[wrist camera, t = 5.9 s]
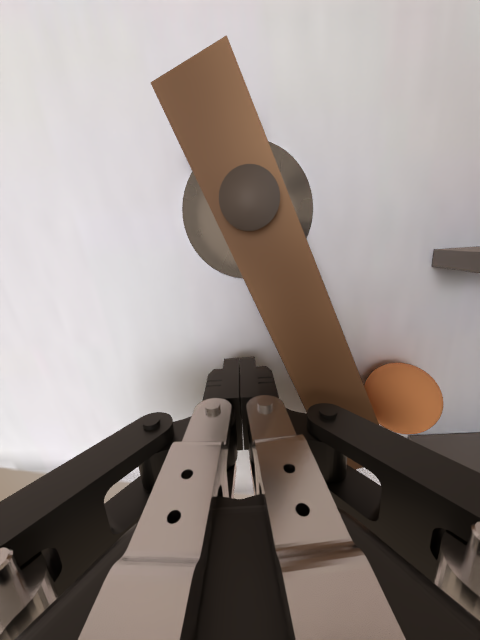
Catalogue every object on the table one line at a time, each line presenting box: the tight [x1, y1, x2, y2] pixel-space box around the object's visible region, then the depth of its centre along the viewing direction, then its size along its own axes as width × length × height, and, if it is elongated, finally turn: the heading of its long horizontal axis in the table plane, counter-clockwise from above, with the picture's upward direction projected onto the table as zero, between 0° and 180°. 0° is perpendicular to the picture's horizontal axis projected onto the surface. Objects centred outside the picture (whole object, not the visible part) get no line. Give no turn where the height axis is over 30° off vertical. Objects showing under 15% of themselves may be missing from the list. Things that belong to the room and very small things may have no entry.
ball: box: [364, 363, 443, 434], centre depth 13 cm, size 3×3×3 cm
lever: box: [151, 36, 379, 470], centre depth 11 cm, size 2×16×5 cm, turn 26°
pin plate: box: [182, 142, 313, 278], centre depth 12 cm, size 6×6×1 cm
